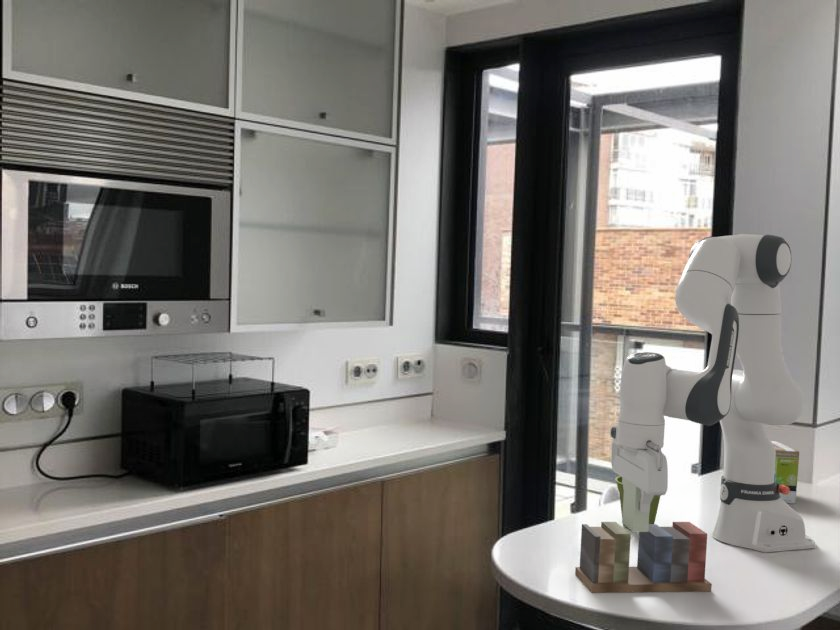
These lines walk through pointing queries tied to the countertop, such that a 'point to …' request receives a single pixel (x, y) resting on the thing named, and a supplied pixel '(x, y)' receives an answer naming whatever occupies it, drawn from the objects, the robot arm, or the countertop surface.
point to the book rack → (643, 559)
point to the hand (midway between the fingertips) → (636, 506)
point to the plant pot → (653, 504)
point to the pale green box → (633, 509)
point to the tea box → (786, 469)
